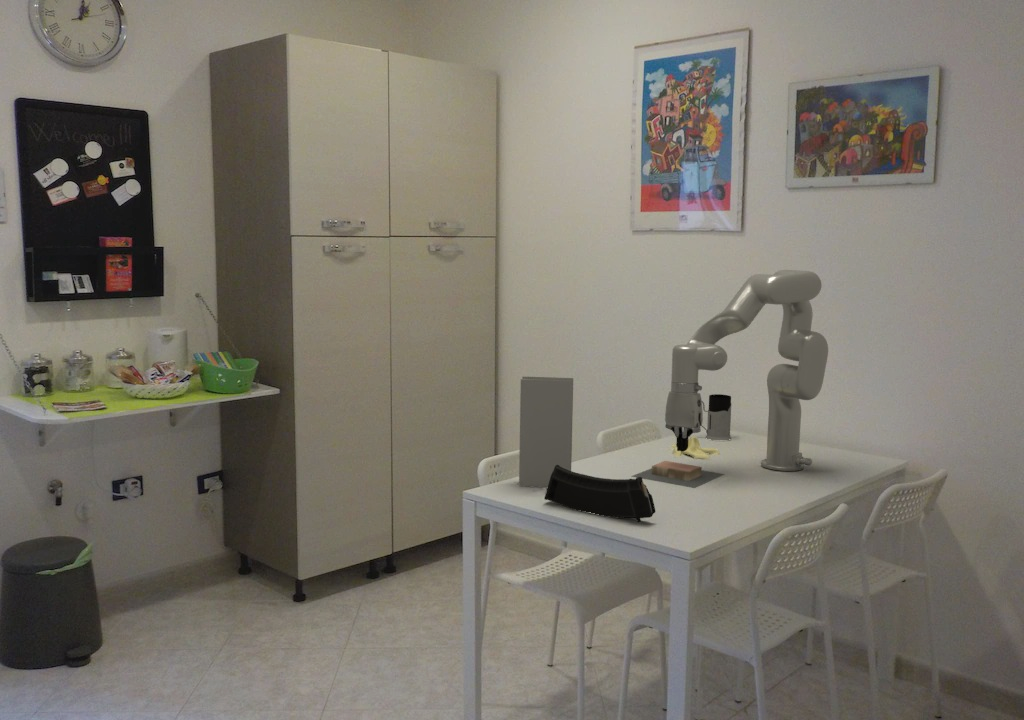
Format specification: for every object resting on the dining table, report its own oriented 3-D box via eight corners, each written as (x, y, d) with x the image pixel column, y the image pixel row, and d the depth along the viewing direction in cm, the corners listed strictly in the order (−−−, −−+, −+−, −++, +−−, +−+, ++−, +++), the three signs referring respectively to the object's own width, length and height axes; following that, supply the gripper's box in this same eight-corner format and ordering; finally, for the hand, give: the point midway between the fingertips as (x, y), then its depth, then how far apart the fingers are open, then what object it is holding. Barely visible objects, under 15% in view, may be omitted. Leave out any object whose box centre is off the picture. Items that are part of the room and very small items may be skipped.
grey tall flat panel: (570, 483, 264) (573, 377, 260) (570, 488, 258) (572, 380, 255) (520, 481, 265) (522, 376, 261) (519, 486, 260) (520, 379, 256)
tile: (664, 469, 280) (701, 475, 272) (651, 474, 273) (689, 480, 266) (664, 460, 279) (701, 466, 272) (651, 465, 273) (689, 471, 266)
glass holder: (734, 441, 323) (736, 398, 321) (693, 441, 322) (695, 398, 320) (727, 435, 331) (729, 394, 329) (687, 435, 331) (689, 393, 329)
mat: (724, 475, 275) (724, 474, 275) (694, 489, 259) (694, 487, 259) (663, 465, 286) (663, 463, 286) (631, 477, 271) (631, 476, 270)
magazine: (536, 468, 243) (635, 451, 226) (543, 466, 246) (642, 449, 228) (551, 533, 242) (652, 521, 225) (558, 530, 245) (658, 518, 227)
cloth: (675, 445, 317) (676, 427, 316) (728, 452, 307) (729, 434, 307) (648, 457, 299) (649, 439, 298) (704, 466, 289) (705, 446, 288)
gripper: (714, 389, 267) (711, 452, 270) (667, 383, 276) (665, 444, 279) (702, 392, 261) (699, 456, 264) (654, 386, 270) (652, 448, 273)
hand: (682, 450), depth 271 cm, fingers closed
